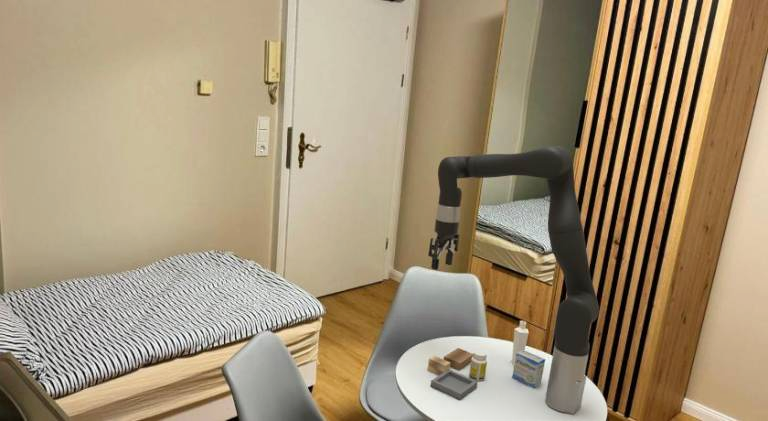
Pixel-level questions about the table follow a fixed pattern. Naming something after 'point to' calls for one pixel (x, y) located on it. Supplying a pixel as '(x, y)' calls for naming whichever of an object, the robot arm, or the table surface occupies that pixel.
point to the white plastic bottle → (519, 339)
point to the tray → (454, 384)
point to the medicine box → (528, 368)
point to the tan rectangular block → (438, 365)
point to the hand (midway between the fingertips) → (441, 266)
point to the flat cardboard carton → (459, 358)
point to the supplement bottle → (478, 365)
